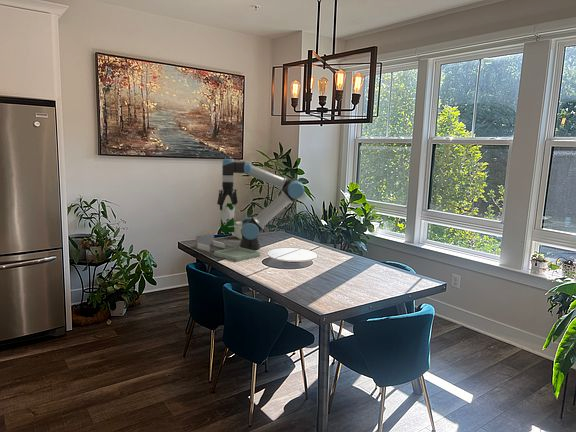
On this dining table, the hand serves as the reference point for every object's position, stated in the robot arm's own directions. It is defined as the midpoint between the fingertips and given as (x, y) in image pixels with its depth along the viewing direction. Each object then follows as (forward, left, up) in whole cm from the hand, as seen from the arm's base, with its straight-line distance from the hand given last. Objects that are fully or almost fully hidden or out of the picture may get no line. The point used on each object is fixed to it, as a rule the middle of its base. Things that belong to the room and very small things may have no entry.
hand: (227, 214), depth 291 cm
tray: (-12, +1, -27) cm, 30 cm away
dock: (+17, -1, -27) cm, 32 cm away
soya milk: (0, 0, -13) cm, 13 cm away
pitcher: (+28, -41, -28) cm, 57 cm away
